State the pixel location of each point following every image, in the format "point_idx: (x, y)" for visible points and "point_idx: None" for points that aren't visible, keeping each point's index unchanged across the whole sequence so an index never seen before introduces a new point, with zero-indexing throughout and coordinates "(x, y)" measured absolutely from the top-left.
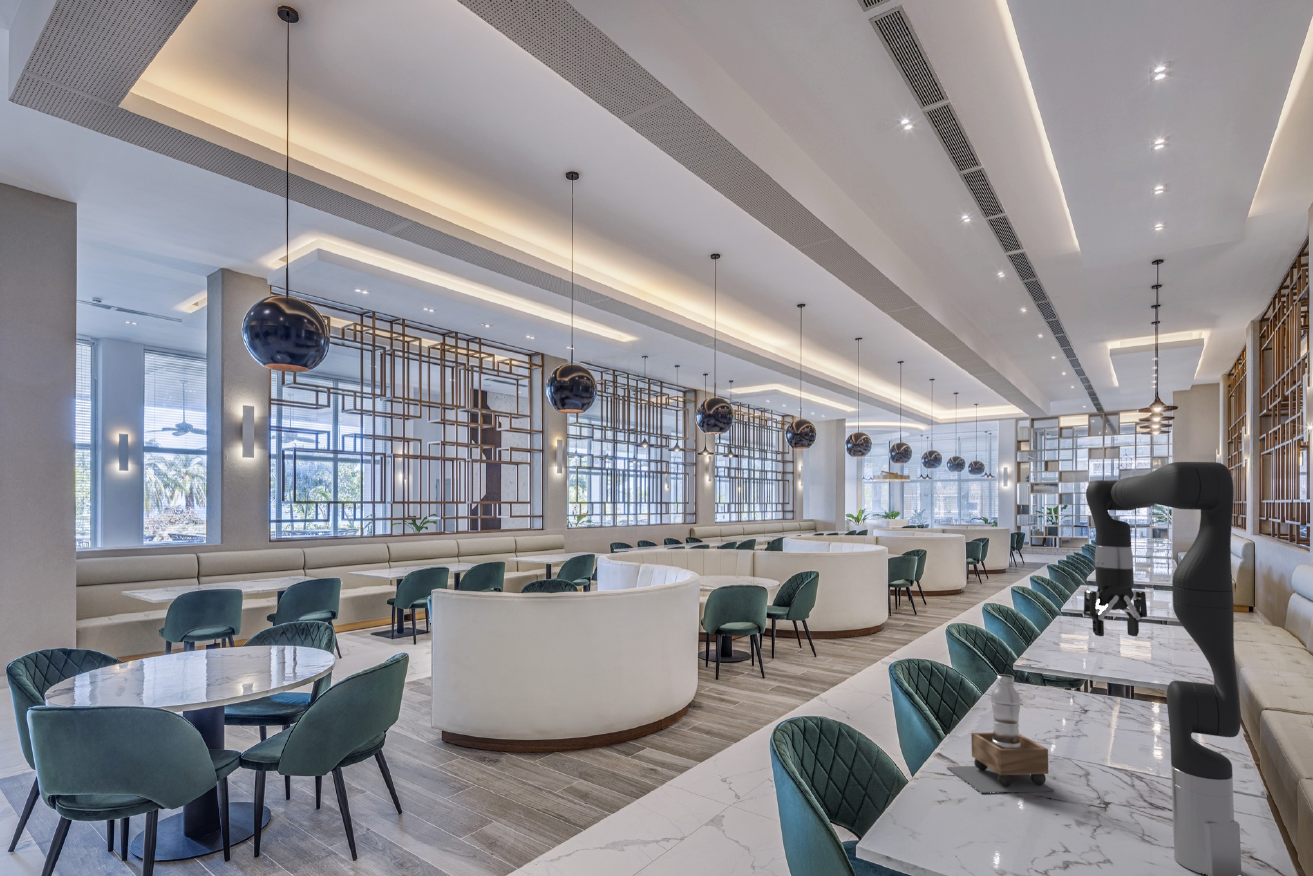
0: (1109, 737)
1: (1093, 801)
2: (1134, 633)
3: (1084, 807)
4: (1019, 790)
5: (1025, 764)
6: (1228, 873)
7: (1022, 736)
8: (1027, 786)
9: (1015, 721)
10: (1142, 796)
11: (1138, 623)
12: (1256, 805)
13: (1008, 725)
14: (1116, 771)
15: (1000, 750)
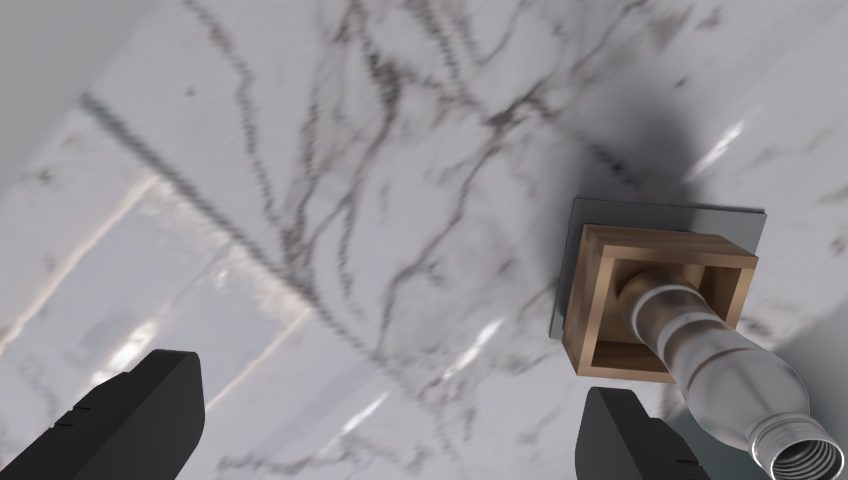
0: None
1: (525, 133)
2: (179, 368)
3: (577, 106)
4: (665, 208)
5: (660, 237)
6: None
7: (590, 343)
8: (625, 225)
9: (705, 323)
10: (377, 138)
11: (7, 468)
12: (128, 44)
13: (721, 320)
14: (319, 275)
15: (758, 257)
